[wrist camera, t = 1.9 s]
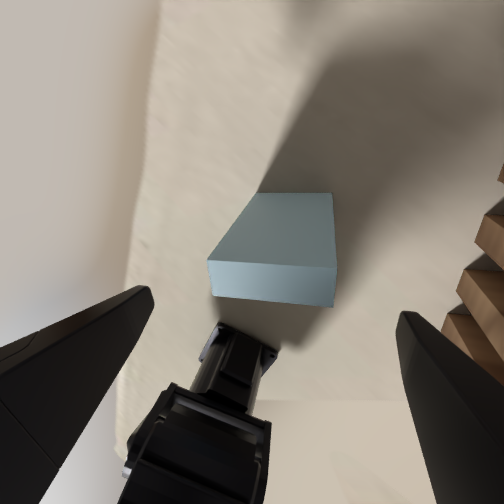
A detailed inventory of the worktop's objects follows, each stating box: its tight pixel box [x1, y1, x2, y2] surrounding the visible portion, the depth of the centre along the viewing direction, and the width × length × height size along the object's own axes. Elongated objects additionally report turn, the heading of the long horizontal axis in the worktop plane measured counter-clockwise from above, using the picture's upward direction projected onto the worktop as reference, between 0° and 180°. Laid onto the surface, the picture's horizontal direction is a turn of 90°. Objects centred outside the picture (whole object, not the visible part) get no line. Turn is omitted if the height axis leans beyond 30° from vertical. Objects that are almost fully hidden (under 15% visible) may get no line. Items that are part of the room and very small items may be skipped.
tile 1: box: [207, 193, 337, 308], centre depth 14 cm, size 2×5×9 cm, turn 94°
